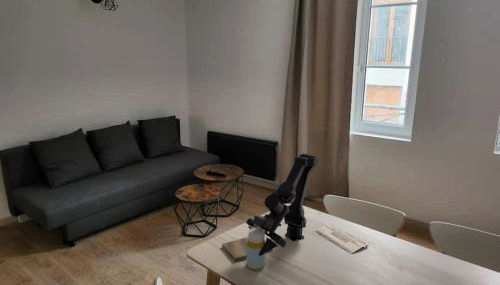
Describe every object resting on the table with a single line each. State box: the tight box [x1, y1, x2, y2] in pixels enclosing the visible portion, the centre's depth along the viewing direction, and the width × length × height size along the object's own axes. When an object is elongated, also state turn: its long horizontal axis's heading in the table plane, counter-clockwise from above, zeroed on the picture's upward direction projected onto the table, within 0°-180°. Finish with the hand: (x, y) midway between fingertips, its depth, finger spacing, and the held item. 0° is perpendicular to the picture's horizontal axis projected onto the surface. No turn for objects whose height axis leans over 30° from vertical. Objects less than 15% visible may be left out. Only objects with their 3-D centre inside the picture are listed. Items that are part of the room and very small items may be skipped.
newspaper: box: [315, 223, 369, 255], centre depth 157 cm, size 23×12×2 cm, turn 34°
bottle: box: [246, 228, 266, 272], centre depth 133 cm, size 7×7×15 cm
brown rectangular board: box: [221, 236, 274, 263], centre depth 147 cm, size 18×12×2 cm, turn 119°
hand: (253, 251), depth 133 cm, fingers closed on bottle, 7 cm apart
